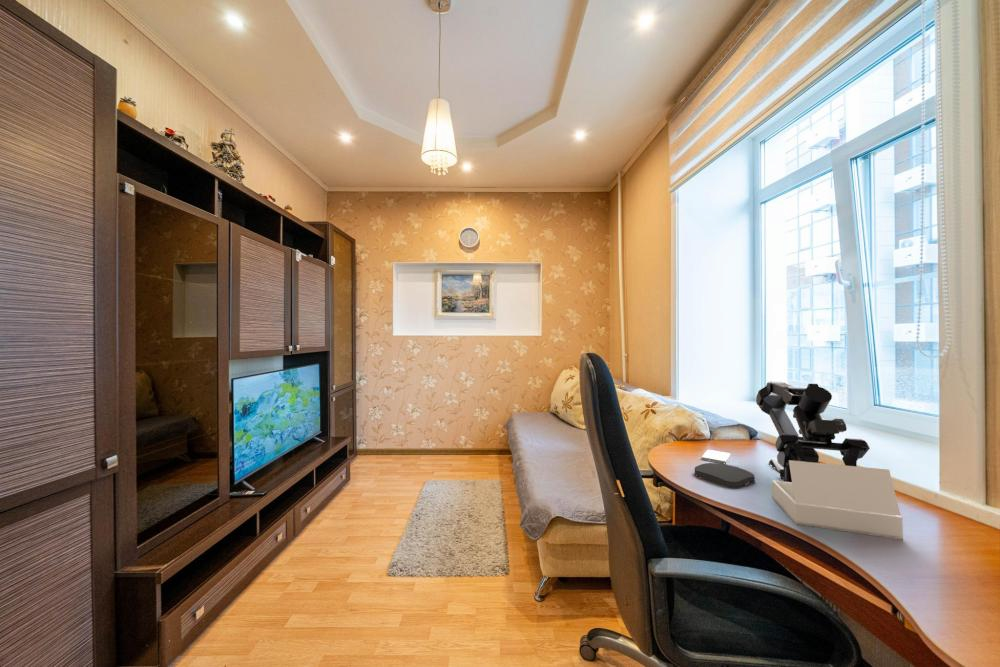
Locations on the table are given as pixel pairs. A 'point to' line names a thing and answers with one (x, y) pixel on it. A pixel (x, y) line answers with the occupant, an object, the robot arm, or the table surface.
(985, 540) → the table surface
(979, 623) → the table surface
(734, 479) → the media streaming box
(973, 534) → the table surface
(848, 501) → the box flap
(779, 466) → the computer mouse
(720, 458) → the external hard drive
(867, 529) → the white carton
